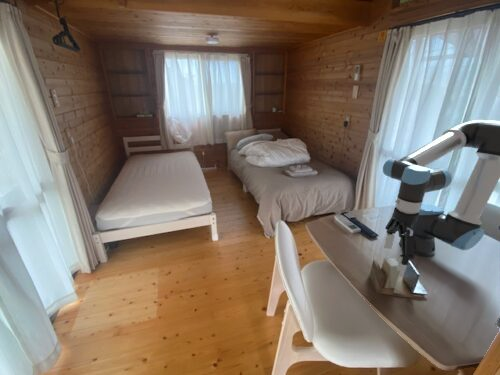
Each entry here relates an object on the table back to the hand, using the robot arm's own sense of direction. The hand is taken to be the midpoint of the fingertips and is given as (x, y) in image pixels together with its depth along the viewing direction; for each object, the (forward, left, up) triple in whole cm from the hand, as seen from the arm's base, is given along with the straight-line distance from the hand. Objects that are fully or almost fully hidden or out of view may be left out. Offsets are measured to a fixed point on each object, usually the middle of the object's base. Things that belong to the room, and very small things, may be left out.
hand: (393, 258), depth 94 cm
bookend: (-10, 0, -12) cm, 16 cm away
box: (0, +1, -12) cm, 12 cm away
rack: (-3, 0, -13) cm, 14 cm away
